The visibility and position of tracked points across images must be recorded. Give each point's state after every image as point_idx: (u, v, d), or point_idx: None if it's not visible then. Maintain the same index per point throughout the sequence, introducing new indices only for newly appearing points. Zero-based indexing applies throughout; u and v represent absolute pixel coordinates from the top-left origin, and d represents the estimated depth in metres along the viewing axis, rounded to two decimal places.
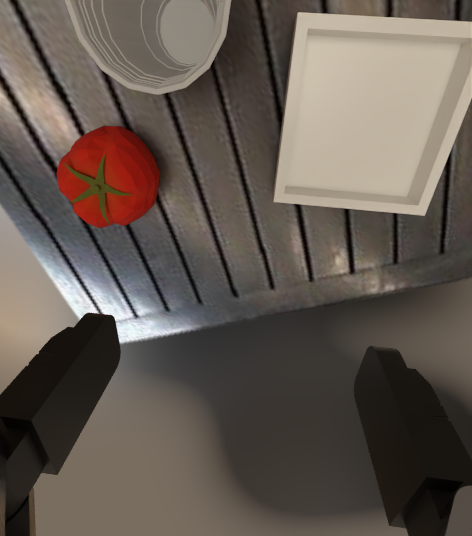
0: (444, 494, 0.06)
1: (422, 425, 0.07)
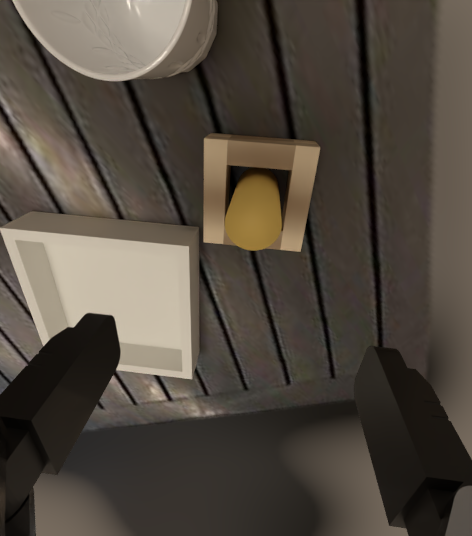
0: (443, 494, 0.06)
1: (422, 425, 0.07)
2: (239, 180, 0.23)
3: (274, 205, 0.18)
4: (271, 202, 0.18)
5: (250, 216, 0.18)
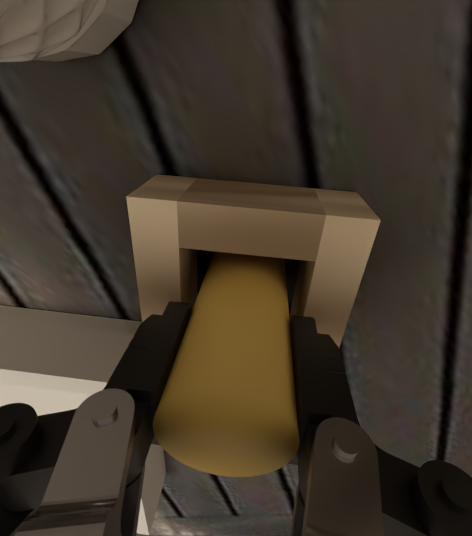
0: None
1: (313, 374, 0.08)
2: (210, 265, 0.12)
3: (280, 405, 0.07)
4: (272, 398, 0.07)
5: (216, 424, 0.07)
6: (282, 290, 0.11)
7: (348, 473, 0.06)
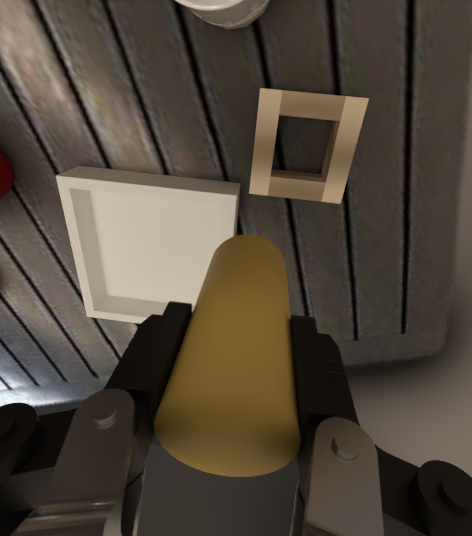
0: None
1: (313, 374, 0.08)
2: (211, 265, 0.12)
3: (281, 405, 0.07)
4: (273, 398, 0.07)
5: (218, 424, 0.07)
6: (283, 290, 0.11)
7: (348, 473, 0.06)
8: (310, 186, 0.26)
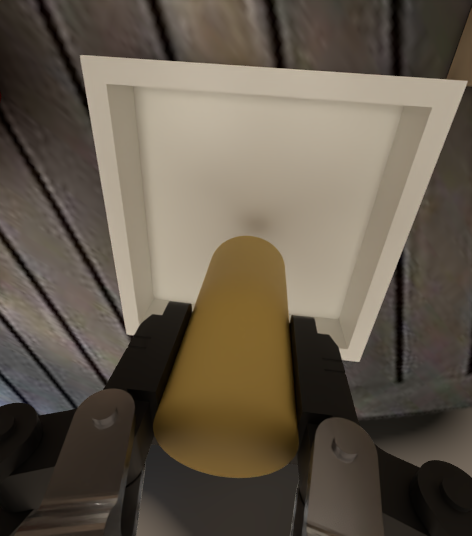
0: None
1: (313, 374, 0.08)
2: (210, 267, 0.12)
3: (279, 406, 0.07)
4: (271, 399, 0.07)
5: (216, 425, 0.07)
6: (282, 291, 0.11)
7: (348, 473, 0.06)
8: None
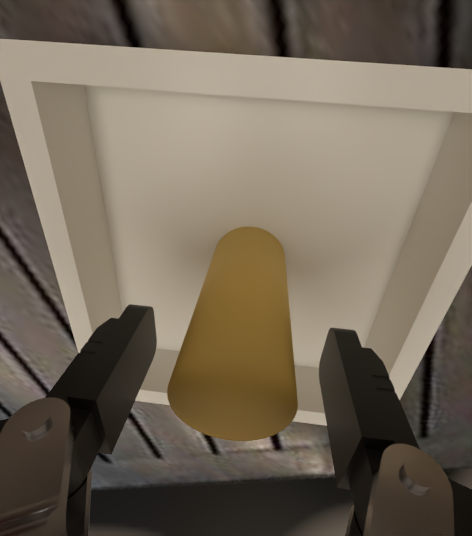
0: (380, 454, 0.07)
1: (366, 394, 0.07)
2: (215, 255, 0.13)
3: (281, 370, 0.07)
4: (274, 364, 0.07)
5: (224, 389, 0.08)
6: (282, 276, 0.12)
7: (417, 506, 0.05)
8: None
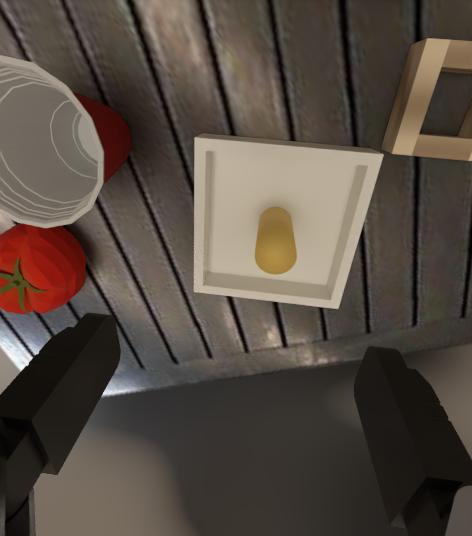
0: (444, 494, 0.06)
1: (422, 425, 0.07)
2: (262, 218, 0.30)
3: (291, 242, 0.24)
4: (289, 240, 0.24)
5: (273, 250, 0.25)
6: (291, 225, 0.29)
7: None
8: (460, 144, 0.25)
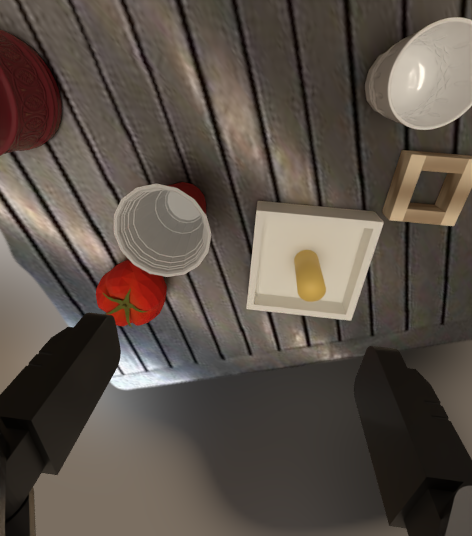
0: (443, 494, 0.06)
1: (422, 425, 0.07)
2: (298, 258, 0.43)
3: (322, 282, 0.37)
4: (321, 280, 0.37)
5: (310, 286, 0.38)
6: (319, 265, 0.42)
7: None
8: (434, 214, 0.38)
